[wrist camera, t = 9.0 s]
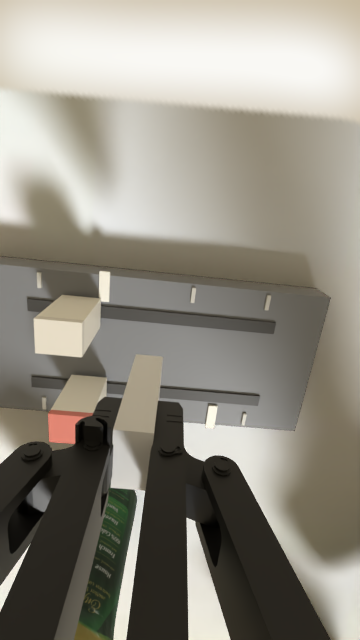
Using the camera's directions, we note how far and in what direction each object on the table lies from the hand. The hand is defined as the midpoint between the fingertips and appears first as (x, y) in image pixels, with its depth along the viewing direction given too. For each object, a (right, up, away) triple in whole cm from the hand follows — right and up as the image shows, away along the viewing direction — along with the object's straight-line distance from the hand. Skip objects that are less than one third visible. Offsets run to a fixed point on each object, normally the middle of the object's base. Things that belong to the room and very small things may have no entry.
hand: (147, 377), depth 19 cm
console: (-1, +1, +12) cm, 12 cm away
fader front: (-6, +4, +8) cm, 10 cm away
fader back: (-6, -3, +10) cm, 12 cm away
